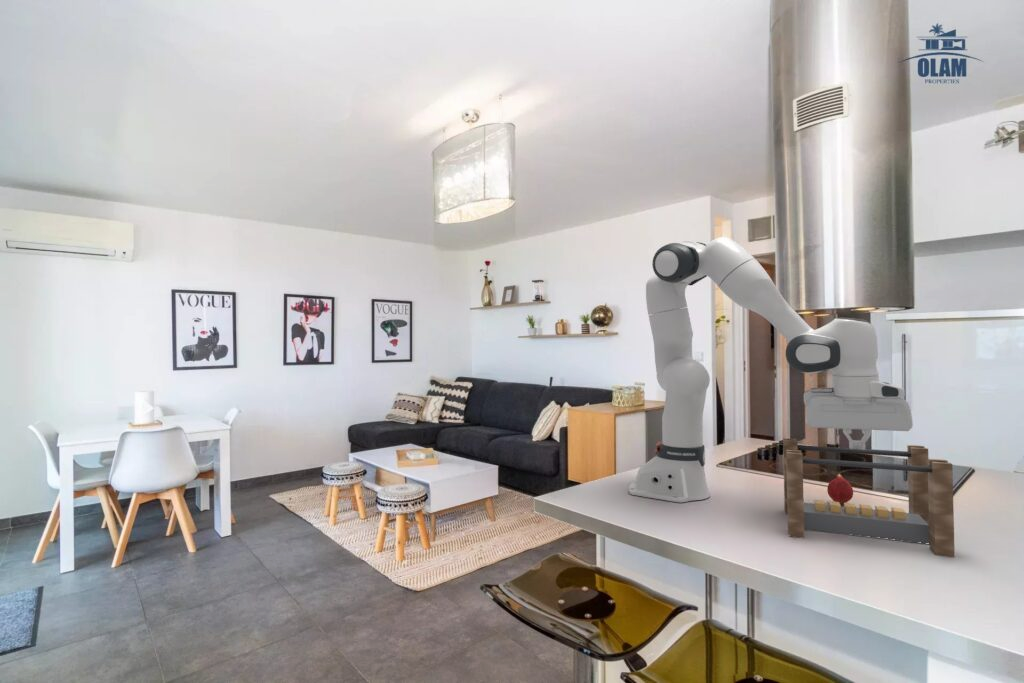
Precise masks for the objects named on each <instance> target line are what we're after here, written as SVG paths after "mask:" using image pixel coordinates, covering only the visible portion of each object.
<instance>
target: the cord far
mask: <svg viewBox="0 0 1024 683" xmlns="http://www.w3.org/2000/svg"><path fill="white" fill-rule="evenodd" d="M797 445H798V451H812V452H825V453H826V452H827V453H828V452H829V453H841V454H844V453H845V454H858V455H874V456H875V455H876V456H888V457H889V456H890V457H906V458H908V457H911V452H907V451H904V450H890V449H889V450H887V449H873V448H871V449H869V448H866V449H865V450H863V449H850V448H849V447H835V446H820V445H803V444H802V445H801V444H797Z"/></svg>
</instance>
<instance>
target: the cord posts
mask: <svg viewBox="0 0 1024 683" xmlns="http://www.w3.org/2000/svg"><path fill="white" fill-rule="evenodd" d="M782 444H783V445H782V446H783V447H782V450H783V451H782V456H783V493H784V494H783V496H784V498H783V500H784V501H783V502H784V515H785V514H788V515H787V533H789V534H788V536H789V535H790V536H789V537H792V536H796V537H795V538H800V537H804V538H805V529H804V503H805V502H804V499H805V498H804V463H803V458H804V457H803V456H804V455H803V453H802V450H798V445H799V444H798V439H797V438H787V437H786V438H785V437H783V438H782ZM906 450H907V451H906V452H911V457H907V465H915V466H929V467H932V473H930V472H916V471H907V485H908V486H907V488H908V489H907V490H908V491H907V492H908V513H913V514H919V515H920V516H921V517H922V518H923V519H924V520H925V521H926V523H927V524H928V525H929V543H930V544H929V549H930V548H931V549H930V550H931V551H932V552H933V554H934V555H935V554H936V555H937V556H944V557H951V558H955V518H954V512H955V511H954V510H955V509H954V478H953V476H954V474H953V473H954V470H953V469H954V468H953V463H951V462H949V461H948V460H946V459H936V458H929V448H927V447H925V446H924V445H917V444H914V445H913V444H907V449H906Z"/></svg>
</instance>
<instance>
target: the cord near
mask: <svg viewBox="0 0 1024 683" xmlns="http://www.w3.org/2000/svg"><path fill="white" fill-rule="evenodd" d="M803 464H807V465H819V466H820V465H822V466H832V467H833V466H836V467H837V466H838V467H848V468H849V467H850V468H862V469H863V468H865V469H875V470H876V469H878V470H888V471H889V470H891V471H903V472H908V471H916V472H930V473H932V467H929V466H915V465H908V464H897V463H896V464H895V463H883V462H869V461H867V462H866V461H852V460H842V459H841V460H840V459H825V458H824V459H822V458H809V457H807V458H806V457H803Z"/></svg>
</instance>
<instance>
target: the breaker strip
mask: <svg viewBox="0 0 1024 683" xmlns="http://www.w3.org/2000/svg"><path fill="white" fill-rule="evenodd" d="M805 529H807V530H806V531H813V530H815V532H822V531H825V532H824V533H830V532H834V533H833V534H838V533H844V534H843V535H847V534H852V535H851V536H855V535H861V536H860V537H863V536H870V537H869V538H871V537H880V538H888V539H895V540H894V541H896V540H903V541H902V542H905V541H911V542H910V543H913V542H921V543H929V525H928V524H927V523H926V521H925V520H924V519H923V518H922V517H921V516H920V515H919V514H913V513H909V512H906V511H905V510H904V509H903V508H901V507H894V506H891V508H890V510H889V508H887V506H882V505H875V506H874V509H873V508H872V506H871V505H870V504H862V503H859V506H858V507H857V505H856V504H855V503H853V502H846V503H844V504H843V505H840V503H839V502H835V501H833V500H832V501H831V500H829V501H828V504H826V502H825V500H821V499H814V500H813V503H812V502H804V530H805ZM880 538H879V539H880ZM888 539H887V540H888ZM921 543H920V544H921ZM928 545H930V543H929V544H928Z"/></svg>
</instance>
